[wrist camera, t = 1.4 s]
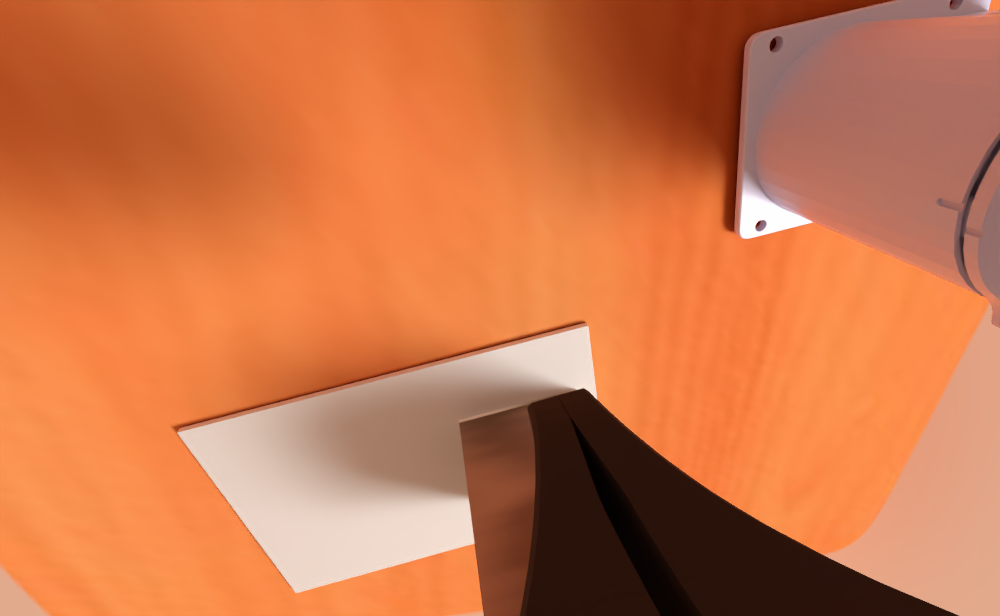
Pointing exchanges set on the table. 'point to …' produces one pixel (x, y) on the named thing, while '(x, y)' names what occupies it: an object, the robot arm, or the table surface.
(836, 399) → the table surface
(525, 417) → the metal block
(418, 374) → the mat
